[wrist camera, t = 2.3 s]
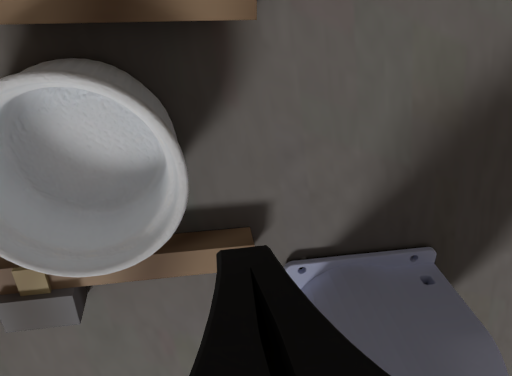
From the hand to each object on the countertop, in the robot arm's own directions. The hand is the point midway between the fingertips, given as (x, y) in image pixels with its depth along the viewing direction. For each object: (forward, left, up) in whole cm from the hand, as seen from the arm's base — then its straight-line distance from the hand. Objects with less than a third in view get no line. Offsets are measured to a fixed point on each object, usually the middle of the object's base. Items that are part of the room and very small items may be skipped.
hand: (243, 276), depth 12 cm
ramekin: (+6, 0, -11) cm, 12 cm away
